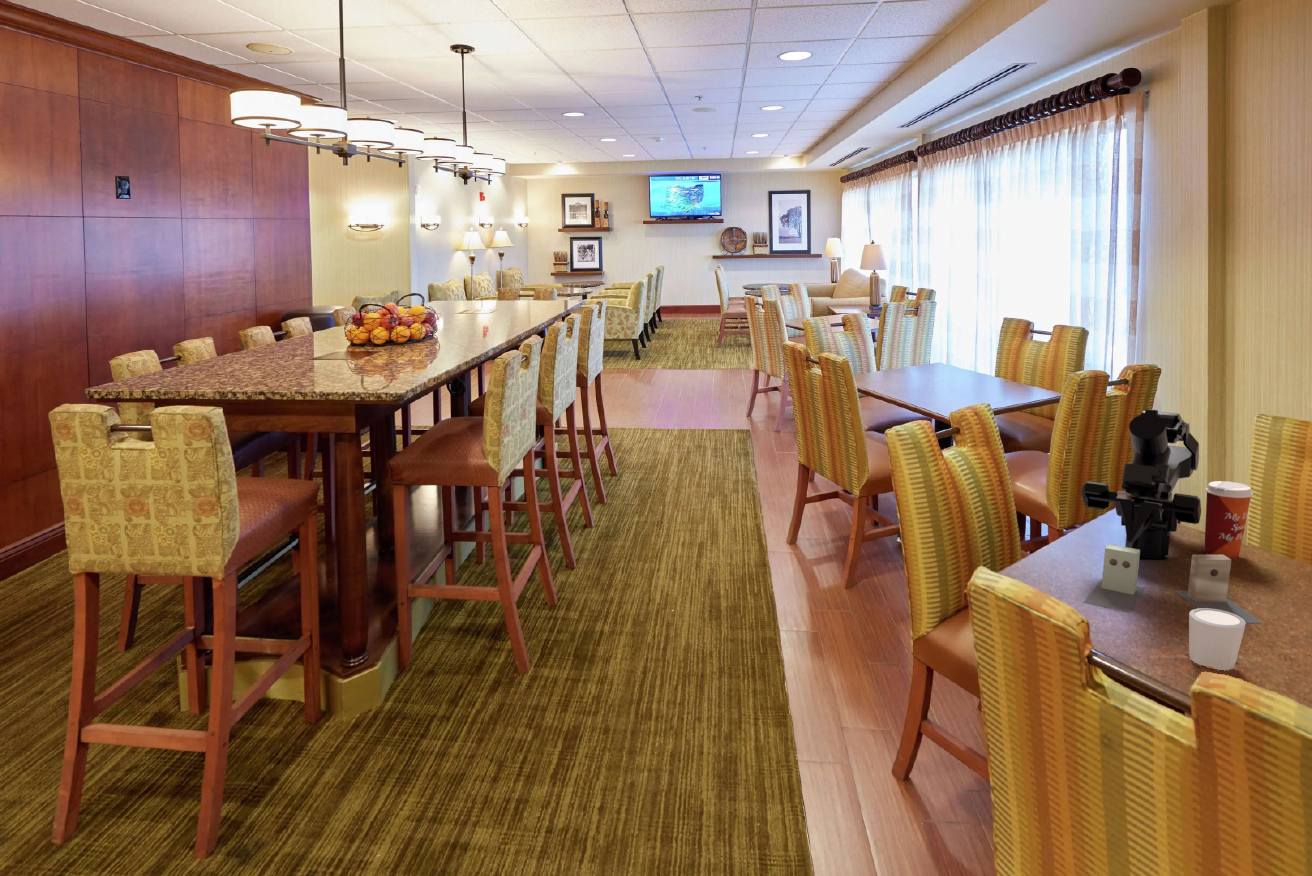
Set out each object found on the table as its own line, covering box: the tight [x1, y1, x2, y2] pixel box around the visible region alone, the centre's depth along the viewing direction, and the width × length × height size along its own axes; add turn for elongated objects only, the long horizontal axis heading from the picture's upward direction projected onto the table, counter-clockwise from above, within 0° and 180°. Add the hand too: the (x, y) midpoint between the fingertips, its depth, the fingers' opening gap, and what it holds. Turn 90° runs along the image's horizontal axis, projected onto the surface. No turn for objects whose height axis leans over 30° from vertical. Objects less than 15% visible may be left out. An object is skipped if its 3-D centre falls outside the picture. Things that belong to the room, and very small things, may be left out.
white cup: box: [1188, 608, 1247, 672], centre depth 123 cm, size 7×7×7 cm
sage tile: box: [1101, 543, 1140, 595], centre depth 148 cm, size 2×5×8 cm, turn 50°
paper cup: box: [1204, 480, 1254, 559], centre depth 164 cm, size 8×8×14 cm
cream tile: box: [1187, 554, 1232, 602], centre depth 143 cm, size 2×5×8 cm, turn 85°
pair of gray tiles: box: [1083, 578, 1263, 624], centre depth 144 cm, size 25×18×1 cm
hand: (1129, 542), depth 151 cm, fingers closed
